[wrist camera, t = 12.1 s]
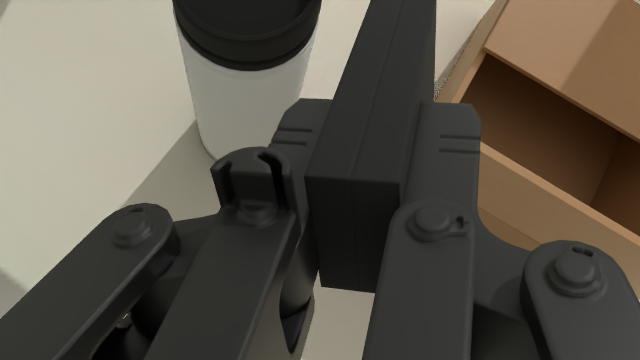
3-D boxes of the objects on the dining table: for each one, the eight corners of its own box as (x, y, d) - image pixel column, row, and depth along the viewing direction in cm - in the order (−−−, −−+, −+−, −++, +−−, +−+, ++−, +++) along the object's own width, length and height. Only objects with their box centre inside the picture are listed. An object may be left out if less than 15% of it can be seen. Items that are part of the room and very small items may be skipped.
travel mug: (292, 175, 41) (337, 44, 22) (195, 169, 40) (154, 27, 21) (295, 91, 42) (341, -101, 23) (203, 84, 42) (170, -122, 22)
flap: (635, 292, 32) (632, 298, 32) (419, 162, 33) (415, 168, 33) (755, 306, 24) (752, 314, 24) (464, 131, 24) (460, 140, 24)
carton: (550, 301, 41) (636, 295, 32) (379, 199, 41) (417, 164, 32) (636, 110, 46) (732, 57, 37) (482, 17, 46) (540, -57, 37)
